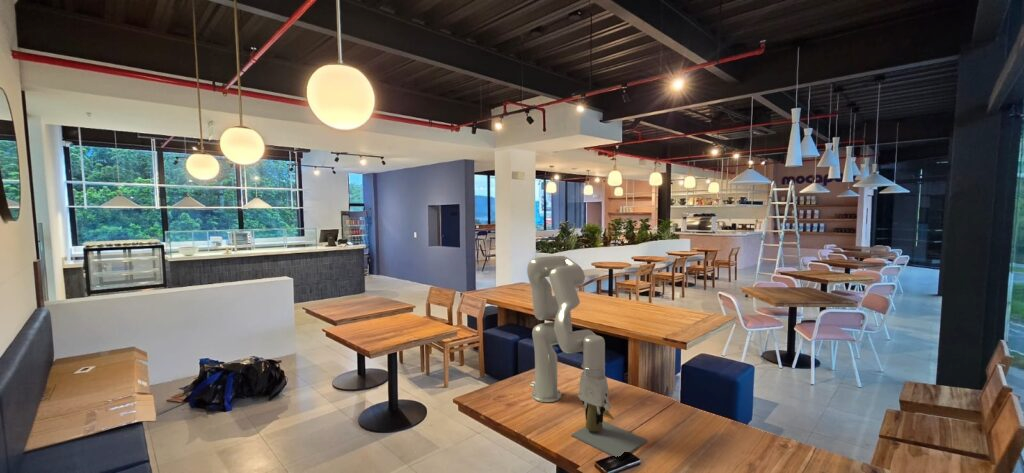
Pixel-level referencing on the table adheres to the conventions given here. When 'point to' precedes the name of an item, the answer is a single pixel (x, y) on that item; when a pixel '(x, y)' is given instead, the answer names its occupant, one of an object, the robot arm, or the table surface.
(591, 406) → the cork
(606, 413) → the shard
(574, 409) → the table surface
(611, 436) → the slate mat
